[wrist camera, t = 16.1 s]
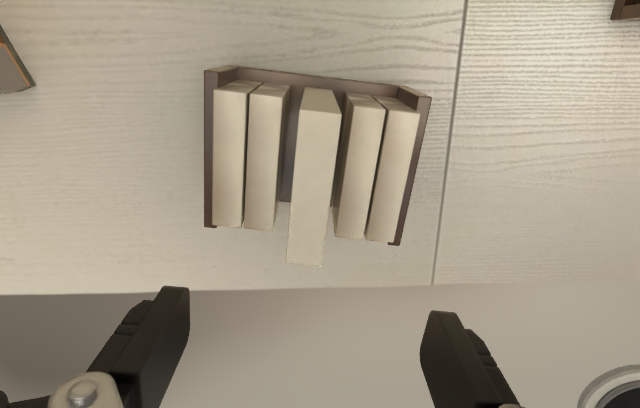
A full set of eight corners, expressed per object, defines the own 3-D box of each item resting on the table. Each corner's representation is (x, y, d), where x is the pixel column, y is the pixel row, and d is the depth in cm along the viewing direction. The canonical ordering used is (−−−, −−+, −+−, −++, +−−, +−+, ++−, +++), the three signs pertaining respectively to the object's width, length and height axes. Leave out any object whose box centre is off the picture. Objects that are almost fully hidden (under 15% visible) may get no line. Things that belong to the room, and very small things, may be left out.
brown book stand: (407, 86, 34) (438, 100, 26) (383, 208, 39) (403, 255, 30) (228, 64, 34) (197, 71, 25) (225, 192, 38) (198, 235, 29)
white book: (332, 89, 33) (342, 114, 21) (319, 195, 37) (321, 266, 25) (305, 86, 33) (299, 109, 21) (294, 193, 37) (285, 263, 25)
